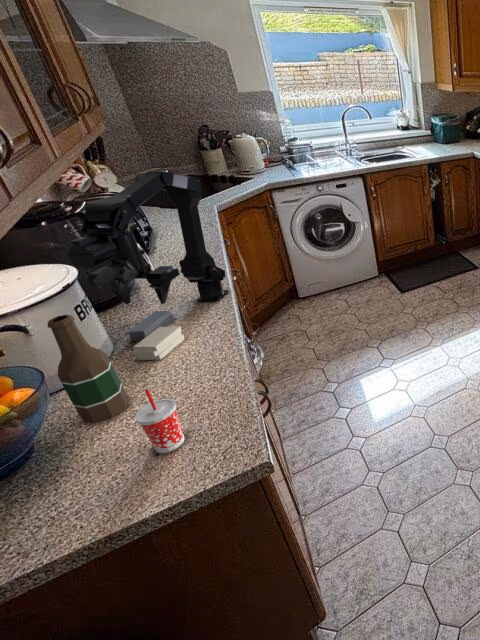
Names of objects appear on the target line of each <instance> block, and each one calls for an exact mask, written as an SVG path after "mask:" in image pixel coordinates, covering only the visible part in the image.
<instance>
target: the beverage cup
mask: <svg viewBox="0 0 480 640" xmlns="http://www.w3.org/2000/svg"><path fill="white" fill-rule="evenodd" d="M144 392H145V394H146V396H147V398H148V401H149V403H147V404H146V405H144V406H142V407H141V408H140V409H139V410H138V411H137V412H136V413H135V415H134V419H135V422H136V423H137V424H138V425H140V427H141V428H142V430H143V431H144V433H145V435H146V437H147V438H148V440H149V442H150V443H151V445H152V446H153V448H154V450H155V451H156V452H157V453H158V454H165V453H170V452H172V451H174V450H176V449H178V448H179V447H181V446H182V444H183V443H184V441H185V439H186V438H185V435H184V431H183V428H182V426H181V423H180V419H179V416H178V413H177V404H176V401H175V400H174V399H172V398H161V399H157V400H154V399H153V397H152V395H151V392H150V390H149V389H148V388H146V389H144Z"/></svg>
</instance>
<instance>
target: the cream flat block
mask: <svg viewBox="0 0 480 640" xmlns="http://www.w3.org/2000/svg"><path fill="white" fill-rule="evenodd" d="M184 340H185V336H184V334H183V333H182V331H181V332H180V333H179V334H177V335H176V336H175V337H174V338H173V339H171V340H170V341H169V342H168V343H166V344H165V345H164V346H163V347H162V348H160V349H159V350H158V351H135V349H134V350H133V351H132V353H133V355H134V356H135V357H137V358H138V360H139V361H156V360H157V361H161V360H162V359H164V358H165V357H166V356H167V355H168V354H170V353H171V352H172V351H173V350H174V349H175V348H176V347H178V346H179V345H180V344H181V343H182V342H183V341H184Z"/></svg>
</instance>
